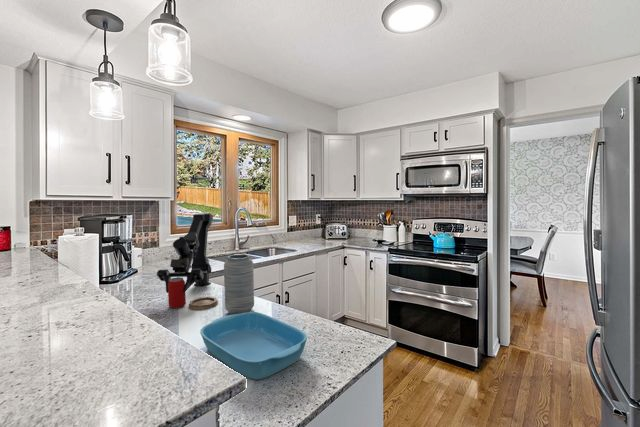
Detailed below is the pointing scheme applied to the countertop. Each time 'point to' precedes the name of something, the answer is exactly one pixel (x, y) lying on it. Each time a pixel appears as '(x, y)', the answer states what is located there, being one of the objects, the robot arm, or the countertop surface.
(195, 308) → the coaster
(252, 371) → the casserole dish
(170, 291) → the beverage can
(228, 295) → the vase
